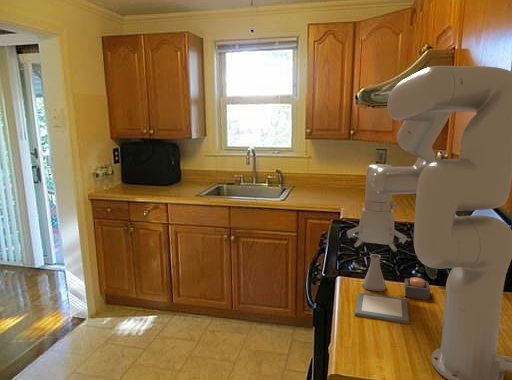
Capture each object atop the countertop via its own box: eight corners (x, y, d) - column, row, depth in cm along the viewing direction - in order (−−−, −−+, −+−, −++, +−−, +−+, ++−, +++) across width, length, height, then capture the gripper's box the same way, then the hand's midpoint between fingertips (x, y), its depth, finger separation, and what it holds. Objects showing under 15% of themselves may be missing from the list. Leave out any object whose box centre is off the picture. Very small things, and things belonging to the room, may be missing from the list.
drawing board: (406, 301, 105) (406, 298, 105) (408, 323, 93) (408, 320, 93) (358, 294, 110) (358, 292, 109) (354, 315, 98) (355, 312, 97)
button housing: (427, 290, 112) (427, 281, 112) (429, 299, 106) (430, 289, 106) (404, 287, 114) (405, 278, 114) (405, 296, 108) (405, 286, 108)
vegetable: (423, 279, 120) (428, 219, 117) (421, 275, 124) (426, 216, 121) (438, 281, 119) (443, 220, 116) (436, 276, 123) (441, 217, 120)
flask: (388, 292, 111) (389, 260, 109) (362, 290, 112) (364, 259, 111) (384, 283, 118) (386, 252, 116) (361, 281, 120) (362, 251, 118)
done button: (423, 287, 111) (424, 278, 111) (424, 292, 108) (425, 283, 107) (409, 285, 113) (409, 276, 112) (409, 290, 109) (410, 281, 109)
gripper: (408, 205, 112) (404, 259, 115) (349, 201, 118) (346, 252, 121) (409, 211, 105) (405, 268, 108) (346, 206, 111) (344, 261, 114)
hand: (374, 260), depth 115 cm, fingers open, 9 cm apart
